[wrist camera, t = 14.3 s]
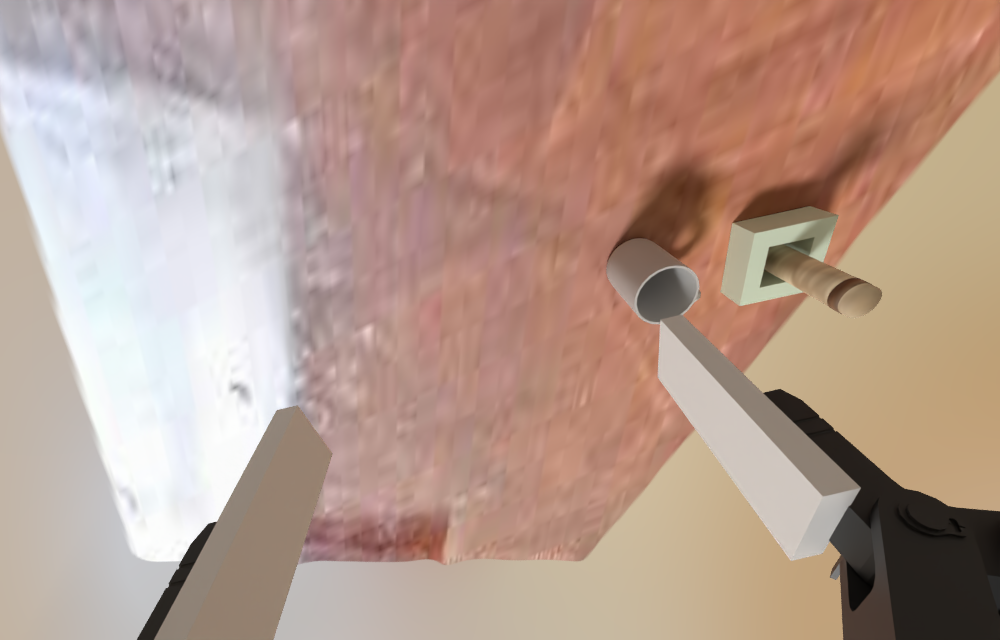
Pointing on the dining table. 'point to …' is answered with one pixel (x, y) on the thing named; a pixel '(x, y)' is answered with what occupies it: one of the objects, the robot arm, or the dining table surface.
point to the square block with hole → (752, 243)
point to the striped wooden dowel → (823, 281)
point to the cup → (652, 280)
